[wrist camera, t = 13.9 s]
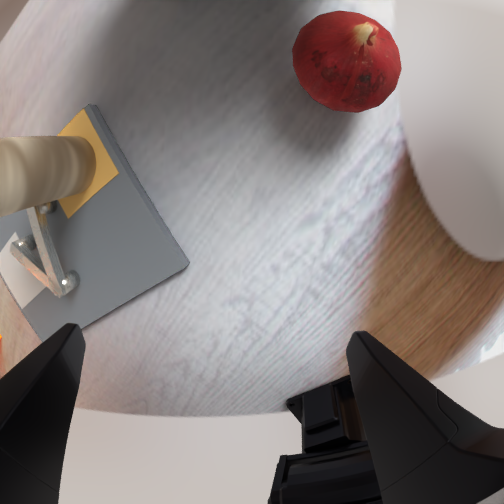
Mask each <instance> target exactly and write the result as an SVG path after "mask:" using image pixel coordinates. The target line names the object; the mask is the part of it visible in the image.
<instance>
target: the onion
mask: <svg viewBox="0 0 504 504" xmlns="http://www.w3.org/2000/svg"><path fill="white" fill-rule="evenodd" d="M292 55H293V67H294V70H295V72H296V75H297V77H298V80H299V82H300V85H301V86H302V87H303V88H304V89H305V90H306V91H307V92H308V94H309V95H310V96H311V97H312V98H313V99H314V100H315V101H317V102H319V103H321V104H323V105H324V106H326V107H328V108H330V109H332V110H335V111H345V112H354V113H359V112H362V111H365V110H368V109H371V108H374V107H377V106H379V105H380V104H382V103H383V102H384V101H385V100H386V98H387V97H388V96H389V95H390V94H391V93H392V92H393V91H394V90H395V88H396V85H397V82H398V79H399V76H400V72H401V62H400V55H399V50H398V47H397V45H396V43H395V41H394V40H393V38H392V36H391V34H390V32H389V31H387V30H386V29H385V28H384V27H383V26H382V25H380V24H379V23H378V22H377V21H375V20H373V19H371V18H369V17H367V16H364V15H362V14H360V13H354V12H347V11H335V12H330V13H326V14H322V15H319V16H317V17H315V18H314V19H313V20H311V21H310V22H309V23H307V24H306V25H305V26H303V27H302V28H301V30H300V32H299V34H298V36H297V39H296V41H295V43H294V46H293V48H292Z"/></svg>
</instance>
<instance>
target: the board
mask: <svg viewBox="0 0 504 504" xmlns="http://www.w3.org/2000/svg"><path fill="white" fill-rule="evenodd" d="M57 136H79V137H83V138H84V139H86V140H87V141H88V142H89V143H90V144H91V146H92V147H93V150H94V152H95V157H96V171H95V175H94V178H93V180H92V182H91V184H90V185H89V187H88V188H87V189H86V190H85V191H83V192H82V193H79V194H76V195H72V196H69V197H65V198H61V199H58V200H56V202H57V209H56V211H55V212H54V213H51V214H48V215H46V219H47V223H48V226H49V230H50V233H51V236H52V240H53V243H54V246H55V249H56V252H57V255H58V258H59V261H60V264H61V267H62V269H63V272H64V274H65V273H67V272H68V271H70V270H75V271H76V272H77V273H78V274H79V276H80V284H79V285H78V286H76V287H75V288H74V289H72V290H71V291H70V292H68V293H67V294H66V295H63V296H62V297H60V298H59V297H58V296H57V295H56V296H55V295H54V293H53V292H52V291H51V290H50V289H49V288H47V287H46V286H45V285H44V284H43V283H42V282H41V281H39V280H38V279H37V278H36V277H35V276H34V275H33V274H32V273H31V272H29V271H28V270H27V269H26V268H25V267H24V266H23V265H22V264H21V263H20V262H19V261H18V260H17V259H16V258H15V257H14V256H13V255H12V254H11V253H10V247H11V243H12V242H14V241H16V240H18V239H20V238H23V237H25V236H27V235H29V234H32V235H33V232H32V228H31V225H30V221H29V217H28V214H27V210H26V209H24V210H21V211H18V212H15V213H12V214H9V215H6V216H3V217H0V276H1V278H2V280H3V281H4V283H5V285H6V287H7V289H8V290H9V292H10V294H11V295H12V297H13V299H14V300H15V302H16V304H17V305H18V307H19V308H20V310H21V312H22V313H23V315H24V316H25V318H26V319H27V321H28V322H29V324H30V325H31V327H32V328H33V330H34V331H35V332H36V334H37V335H38V337H39V338H40V340H41V341H42V342H44V341H45V340H46V339H48V338H49V337H50V336H51V335H52V334H54V333H55V332H56V331H57V330H59V329H60V328H61V327H62V326H63V325H65V324H66V323H75V324H78V325H79V326H80V329H82V328H83V327H85V326H87V325H88V324H90V323H92V322H93V321H95V320H97V319H98V318H100V317H102V316H104V315H105V314H107V313H109V312H110V311H112V310H114V309H115V308H117V307H119V306H120V305H122V304H124V303H125V302H127V301H129V300H131V299H132V298H134V297H136V296H137V295H139V294H141V293H142V292H144V291H146V290H148V289H149V288H151V287H153V286H154V285H156V284H158V283H160V282H161V281H163V280H165V279H166V278H168V277H170V276H172V275H173V274H175V273H177V272H179V271H180V270H182V269H184V268H186V266H187V265H188V264H189V263H190V262H189V260H188V259H187V257H186V256H185V254H184V253H183V251H182V250H181V248H180V247H179V245H178V243H177V242H176V240H175V239H174V237H173V236H172V234H171V233H170V231H169V229H168V228H167V226H166V225H165V223H164V221H163V220H162V218H161V217H160V215H159V213H158V212H157V210H156V209H155V207H154V205H153V204H152V202H151V200H150V199H149V197H148V196H147V194H146V192H145V191H144V189H143V187H142V186H141V184H140V182H139V181H138V179H137V177H136V176H135V174H134V172H133V170H132V169H131V167H130V165H129V164H128V162H127V160H126V158H125V157H124V155H123V153H122V151H121V150H120V148H119V146H118V144H117V143H116V141H115V139H114V137H113V136H112V134H111V132H110V130H109V128H108V126H107V125H106V123H105V121H104V119H103V117H102V115H101V114H100V112H99V110H98V108H97V106H96V105H92V104H88V105H87V106H86V107H85V108H83V109H82V110H81V111H80V112H79V113H78V114H77V115H76V116H75V117H74V118H73V119H72V120H71V121H70V122H69V123H68V124H67V125H66V126H65V127H64V129H63V130H62V131H61V132H60V133H59V134H58V135H57ZM33 236H34V235H33ZM32 252H33V253H34V254H35V255H36V256H37V257H38V258H40V259H41V257H40V254H39V251H38V248H37V246H36V248H35V249H34V250H32Z"/></svg>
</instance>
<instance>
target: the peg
mask: <svg viewBox="0 0 504 504" xmlns="http://www.w3.org/2000/svg"><path fill="white" fill-rule="evenodd" d="M95 171H96V157H95V152H94V150H93V147H92V146H91V144H90V143H89V142H88V141H87V140H86V139H84V138H83V137H79V136H29V137H7V138H0V217H3V216H6V215H9V214H12V213H15V212H18V211H21V210H24V209H27V208H31V207H34V206H37V205H40V204H44V203H47V202H51V201H54V200H58V199H61V198H65V197H69V196H72V195H76V194H79V193H82V192H83V191H85V190H86V189H87V188H88V187H89V185H90V184H91V182H92V180H93V178H94V175H95Z"/></svg>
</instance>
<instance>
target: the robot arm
mask: <svg viewBox="0 0 504 504" xmlns="http://www.w3.org/2000/svg"><path fill="white" fill-rule="evenodd" d="M84 353H85V340H84V337H83V334H82V331H81V329H80V326H79V325H78V324H75V323H66V324H65V325H63V326H62V327H61V328H60V329H59V330H57V331H56V332H55V333H54V334H52V335H51V336H50V337H49V338H48V339H46V340H45V341H44V342H43V343H42V344H40V345H39V346H38V347H37V348H36V349H34V350H33V351H32V352H31V353H30V354H28V355H27V356H26V357H25V358H24V359H23V360H21V361H20V362H19V363H18V364H17V365H16V366H15V367H13V368H12V369H11V370H10V371H9V372H8V373H7V374H5V375H4V376H3V377H2V378H1V379H0V504H58V499H59V488H60V481H61V474H62V467H63V461H64V454H65V449H66V443H67V438H68V433H69V428H70V423H71V419H72V414H73V410H74V406H75V401H76V397H77V393H78V389H79V384H80V377H81V371H82V365H83V359H84ZM346 356H347V361H348V366H349V371H350V375H348V376H345V377H343V378H341V379H338V380H336V381H334V382H331V383H329V384H326V385H324V386H322V387H319V388H316V389H314V390H311V391H309V392H306V393H303V394H301V395H298V396H295V397H293V398H290V399H288V400H287V403H286V405H287V407H288V408H289V410H290V411H291V412H292V413H293V414H294V416H295V417H296V418H297V419H298V421H299V422H300V423H301V424H302V454H295V455H281V456H280V459H279V463H278V464H277V468H276V472H275V477H274V481H273V485H272V489H271V494H270V497H269V499H268V504H504V429H503V428H496V427H493V426H491V425H489V424H487V423H485V422H484V421H482V420H481V419H479V418H478V417H476V416H475V415H473V414H472V413H470V412H469V411H467V410H466V409H464V408H463V407H461V406H460V405H459V404H457V403H456V402H454V401H453V400H452V399H451V398H449V397H448V396H447V395H445V394H444V393H443V392H442V391H440V390H439V389H437V388H436V387H435V386H434V385H433V384H432V383H430V382H429V381H428V380H427V379H425V378H424V377H423V376H422V375H420V374H419V373H418V372H417V371H416V370H414V369H413V368H412V367H411V366H409V365H408V364H407V363H406V362H404V361H403V360H402V359H401V358H399V357H398V356H397V355H396V354H394V353H393V352H392V351H391V350H389V349H388V348H387V347H386V346H384V345H383V344H382V343H381V342H379V341H378V340H377V339H376V338H374V337H373V336H372V335H370V334H369V333H368V332H367V331H355V332H354V333H353V334H352V336H351V339H350V341H349V343H348V346H347V349H346ZM349 380H351V381H349ZM291 403H293V404H291Z"/></svg>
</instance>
